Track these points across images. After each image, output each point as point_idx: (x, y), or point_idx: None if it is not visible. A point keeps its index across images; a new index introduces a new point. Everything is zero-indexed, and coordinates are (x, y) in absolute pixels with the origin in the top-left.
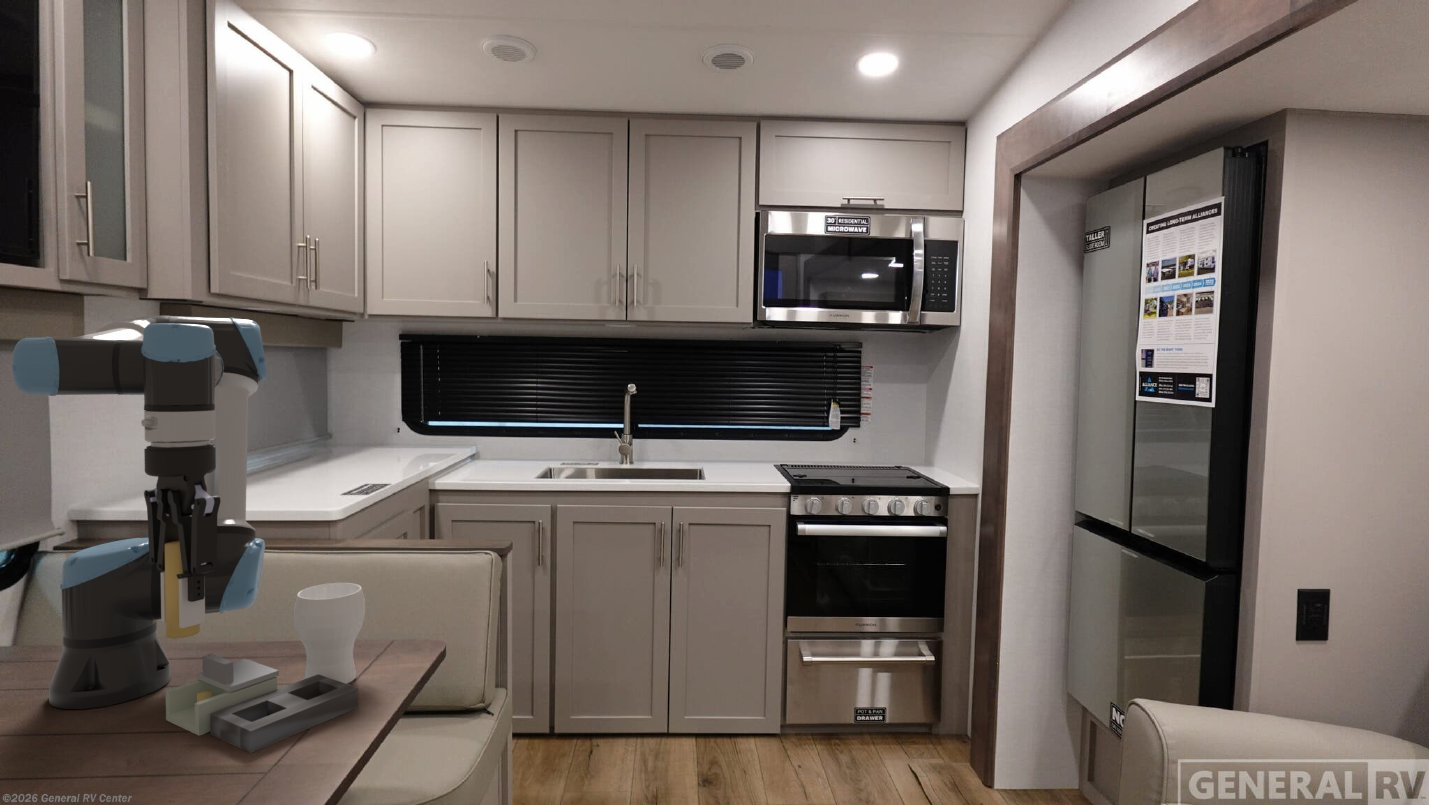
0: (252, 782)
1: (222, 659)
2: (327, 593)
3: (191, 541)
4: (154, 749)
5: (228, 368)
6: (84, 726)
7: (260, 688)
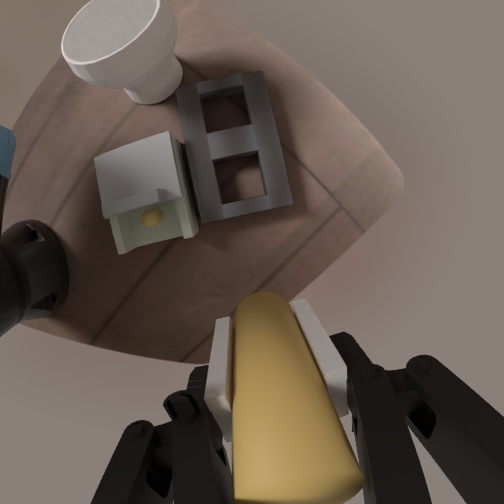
0: (349, 223)
1: (135, 198)
2: (75, 31)
3: (447, 477)
4: (200, 272)
5: None
6: (101, 305)
7: (177, 158)
